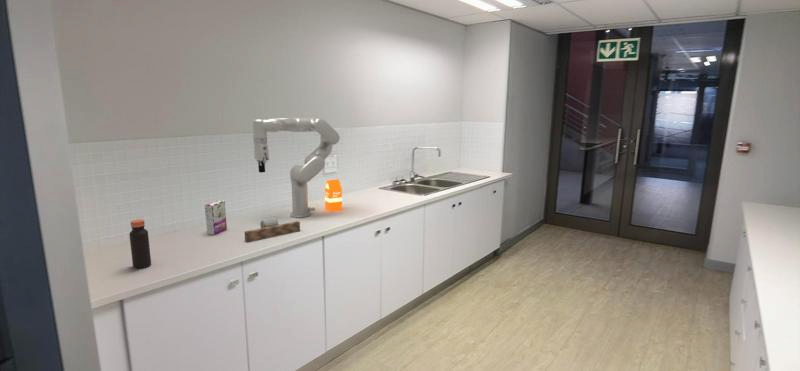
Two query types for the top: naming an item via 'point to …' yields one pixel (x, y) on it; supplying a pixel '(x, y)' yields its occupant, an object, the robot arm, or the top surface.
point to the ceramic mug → (269, 222)
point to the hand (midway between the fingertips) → (262, 172)
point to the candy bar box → (215, 217)
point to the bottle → (139, 245)
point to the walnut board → (271, 231)
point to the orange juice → (333, 195)
